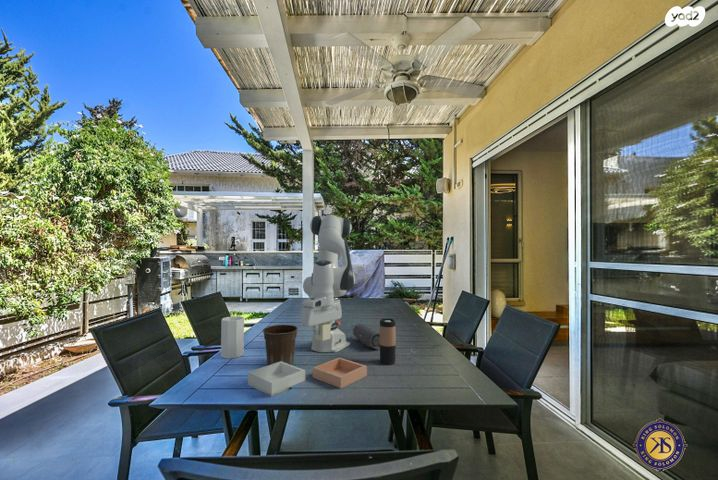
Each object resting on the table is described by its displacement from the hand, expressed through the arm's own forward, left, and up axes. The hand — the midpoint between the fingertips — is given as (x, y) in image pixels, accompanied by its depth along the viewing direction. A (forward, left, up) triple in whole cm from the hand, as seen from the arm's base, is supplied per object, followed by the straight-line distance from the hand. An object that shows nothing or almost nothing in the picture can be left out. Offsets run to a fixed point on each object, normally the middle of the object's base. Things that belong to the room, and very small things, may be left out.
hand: (322, 333), depth 133 cm
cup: (+8, -57, -19) cm, 61 cm away
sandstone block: (0, 0, -2) cm, 2 cm away
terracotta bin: (-6, +5, -19) cm, 21 cm away
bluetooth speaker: (-50, -15, -20) cm, 56 cm away
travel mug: (-35, +9, -19) cm, 41 cm away
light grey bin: (+14, -11, -19) cm, 26 cm away
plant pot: (-1, -29, -19) cm, 35 cm away
